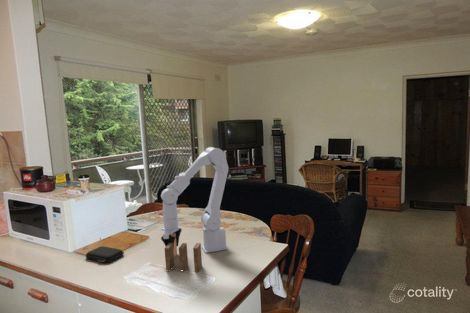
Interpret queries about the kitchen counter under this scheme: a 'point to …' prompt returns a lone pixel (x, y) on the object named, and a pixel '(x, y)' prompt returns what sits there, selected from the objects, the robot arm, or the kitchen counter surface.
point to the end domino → (174, 244)
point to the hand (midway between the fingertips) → (172, 249)
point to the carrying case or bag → (104, 254)
